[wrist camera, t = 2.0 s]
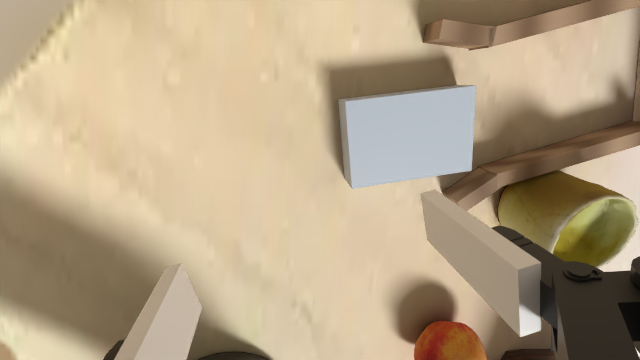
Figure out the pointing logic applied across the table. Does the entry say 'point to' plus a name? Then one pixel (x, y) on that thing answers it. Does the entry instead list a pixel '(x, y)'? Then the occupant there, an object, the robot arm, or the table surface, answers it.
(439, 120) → the pale blue block
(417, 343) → the fruit
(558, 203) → the mug
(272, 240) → the table surface
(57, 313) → the table surface
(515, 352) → the manual coffee grinder
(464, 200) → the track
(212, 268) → the table surface
